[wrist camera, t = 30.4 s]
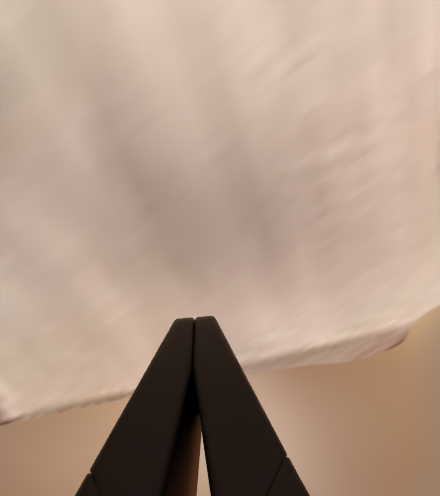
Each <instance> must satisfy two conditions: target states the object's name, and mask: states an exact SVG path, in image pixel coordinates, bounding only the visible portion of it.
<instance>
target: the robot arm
mask: <svg viewBox="0 0 440 496" xmlns="http://www.w3.org/2000/svg"><path fill="white" fill-rule="evenodd" d="M201 431H202V437H203V444H204V450H205V458H206V464H207V472H208V479H209V486H210V492H211V496H310V495H309V493H308V492H307V490H306V488H305V486H304V485H303V483H302V481H301V479H300V478H299V476H298V474H297V472H296V470H295V468H294V466H293V464H292V462H291V460H290V459H289V458H288V457H287V454H286V451H285V450H284V448H283V446H282V444H281V442H280V440H279V438H278V436H277V434H276V432H275V431H274V429H273V427H272V425H271V423H270V421H269V419H268V417H267V415H266V414H265V412H264V410H263V408H262V406H261V404H260V402H259V400H258V398H257V396H256V395H255V393H254V391H253V389H252V387H251V385H250V383H249V381H248V380H247V377H246V376H245V374H244V372H243V370H242V368H241V366H240V364H239V362H238V360H237V358H236V357H235V355H234V353H233V351H232V349H231V347H230V345H229V343H228V341H227V339H226V338H225V336H224V334H223V332H222V330H221V328H220V326H219V324H218V322H217V320H216V319H215V317H213V316H204V317H197V318H196V319H195V320H194V318H181V319H176V320H175V321H174V322H173V324H172V326H171V328H170V329H169V331H168V333H167V335H166V336H165V338H164V340H163V342H162V343H161V345H160V347H159V349H158V350H157V352H156V354H155V356H154V358H153V359H152V361H151V363H150V365H149V366H148V368H147V370H146V372H145V373H144V375H143V377H142V379H141V380H140V382H139V384H138V386H137V388H136V389H135V391H134V393H133V395H132V396H131V398H130V400H129V402H128V403H127V405H126V407H125V409H124V410H123V412H122V414H121V416H120V418H119V419H118V421H117V423H116V425H115V426H114V428H113V430H112V432H111V434H110V435H109V437H108V439H107V440H106V442H105V444H104V446H103V447H102V449H101V451H100V453H99V455H98V456H97V458H96V460H95V462H94V464H93V465H92V467H91V469H90V472H91V474H90V473H89V474H87V475H86V477H85V479H84V481H83V482H82V484H81V487H80V488H79V490H78V491H77V493H76V495H75V496H196V495H197V482H198V469H199V457H200V444H201Z"/></svg>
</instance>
